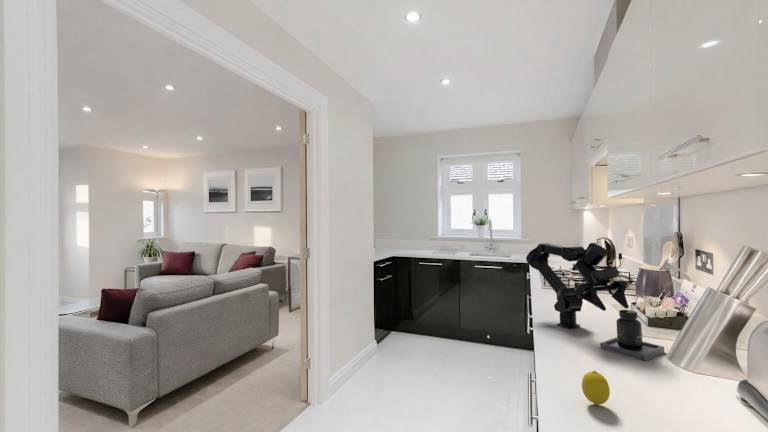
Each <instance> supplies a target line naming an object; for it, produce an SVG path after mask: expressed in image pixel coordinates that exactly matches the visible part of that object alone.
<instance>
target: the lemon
mask: <svg viewBox="0 0 768 432" xmlns="http://www.w3.org/2000/svg"><path fill="white" fill-rule="evenodd" d="M581 390H582V393H583V395H584V397H585V398H586V399H587V400H588V401H589V402H590V403H593V404H594V406H599V405H603V404H606V402H607V401H609V398H610V394H611V393H610V391H611V390H610V385H609V383H608V380H607V379H606V377H605V376H604V375H603V374H601V373H599V372H598V371H596V370H592V371H588V372H586V373H585V374H584V375H583V377H582V380H581Z"/></svg>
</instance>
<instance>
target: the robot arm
mask: <svg viewBox="0 0 768 432" xmlns="http://www.w3.org/2000/svg"><path fill="white" fill-rule="evenodd" d="M608 254H609V253H608V250H607V249H606V248H605V247H602V246H601V245H599V244H597V243H596V242H589V244H588V245H587V247H586V248H585V247H584V246H567V247H566V246H562V245H561V246H560V245H556V244H550V243H549V242H548V243H547V242H546V243H539V244H537V246H536V247H535V248H533V249H532V250H530V251H529V252H528V253H527V255H526V257H525V259H526V263H527V264H528V265H529V266H530V267H531V268H533V269H535V270H537V271H538V272H540V274H541V276H543V278H544V279H545V281H546V282H547V283H548V285H549V286H550V287H551V288H552V290H553V291H554V292H555V293H556V302H555V304H553V307H554V310H555V311H556V312H559V323H557V324H558V325H557V326H559V325H562V326H561V327H563V326H565V327H564V328H567V327H568V328H567V329H571V328H572V329H575V327H576V328H579V327H581V324H580V323H579V324H577V323H578V322H577V312H582V311H581V310H582V308H583V303H584V301H586V302H588V303H590V304H592V305H594V306H595V307H597V308H598V309H600V310H602V311H603V312H605V311H606V310H607V308H606V306H605V304H604V302H603V301H602V300H601V298H600V297H599V295H598V293H599V292H608V293H609V294H610V295H611V298H612V299H614V300H615V301H616V302H617V303H618V304H619V305H621V306H622V307H623V308H624V309H625V310H628V308H629V304H628V301H627V299H626V298H627V297H626V294H625V292H626V290H627V289H628V287H629V284H628V282H627V281H626V280H623V279H622V280H621V279H618V280H614V281H613V282H611V281H612V280H611V279H615V278H616V279H617V278H619V277H618V276H619V275H620V271H619V269H618V268H616V266H610V267H608V268H603V269H601V270H599V269H597V268H596V266H598V265H600V264H601V262H602V261H603V260H604V259H605V258H606V256H607V255H608ZM550 255H555V256H557V257H558V256H559V257H561V258H562V259H563V260H565V261H567V262H576V263H573V264H572V268H571V271H573V272H578V273H579V275H580V276H581V277H582V280H581V281H582V282H581V283H580V284H578V286H577V287H576V288H575V287H568V286H567V285H566V284H565V283H564V282H563V281H562V279H561V278H560V277H559V276H558V275H557V273H556V272H555V271H554V270H553V268H552V267H551V266H550V265H549V258H550ZM610 283H611V284H610ZM583 300H584V301H583ZM578 326H579V327H578Z"/></svg>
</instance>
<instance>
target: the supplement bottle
mask: <svg viewBox="0 0 768 432" xmlns="http://www.w3.org/2000/svg"><path fill="white" fill-rule="evenodd" d="M618 313H619V314H618V316H619V318H617V319H616V321H615V322H616V337H617V342H618V346H619V347H620V348H623V349H627V350H631V351H640V350H642V349H643V342H644V341H643V327H642V326H643V325H642V322H641V321H640V320H638V312H637V311H634V310H630V309H621V310H619V311H618Z"/></svg>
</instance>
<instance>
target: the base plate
mask: <svg viewBox="0 0 768 432" xmlns="http://www.w3.org/2000/svg"><path fill="white" fill-rule="evenodd" d="M599 349H601V350H605V351H608V352H612V353H615V354H619V355H622V356H625V357H629V358H632V359H636V360H639V361H643V362H647V361H649V360H651V359H653V358H655V357H657V356H659V355H661V354H664V353H665V346H663V345H660V344H654V343H651V342H646V341H643V349H642V350H640V351H631V350H627V349H623V348H620V347H619V346H618V342H617V336H615V337H613V338H611V339H608V340H605V341H602V342H599Z"/></svg>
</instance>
